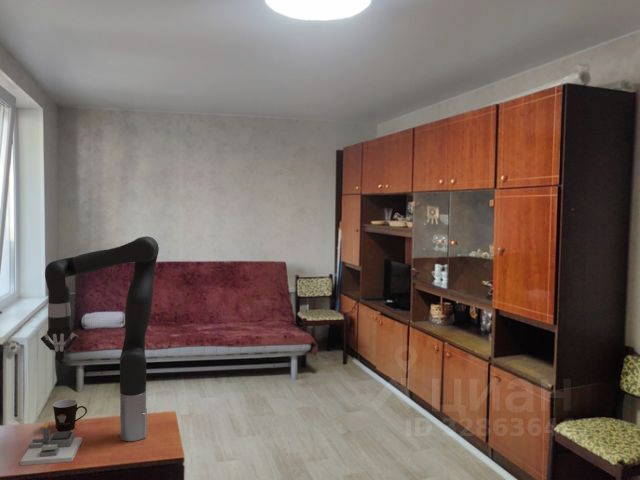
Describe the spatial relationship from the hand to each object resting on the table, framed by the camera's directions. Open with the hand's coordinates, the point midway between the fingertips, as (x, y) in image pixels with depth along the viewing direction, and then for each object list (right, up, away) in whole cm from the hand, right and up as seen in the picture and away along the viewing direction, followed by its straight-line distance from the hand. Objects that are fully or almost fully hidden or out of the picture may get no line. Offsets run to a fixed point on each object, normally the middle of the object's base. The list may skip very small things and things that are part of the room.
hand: (60, 360), depth 204 cm
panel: (+2, -30, -10) cm, 32 cm away
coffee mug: (-1, -29, +9) cm, 30 cm away
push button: (+3, -28, -6) cm, 29 cm away
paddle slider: (-1, -28, -7) cm, 29 cm away
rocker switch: (+3, -27, -15) cm, 31 cm away
